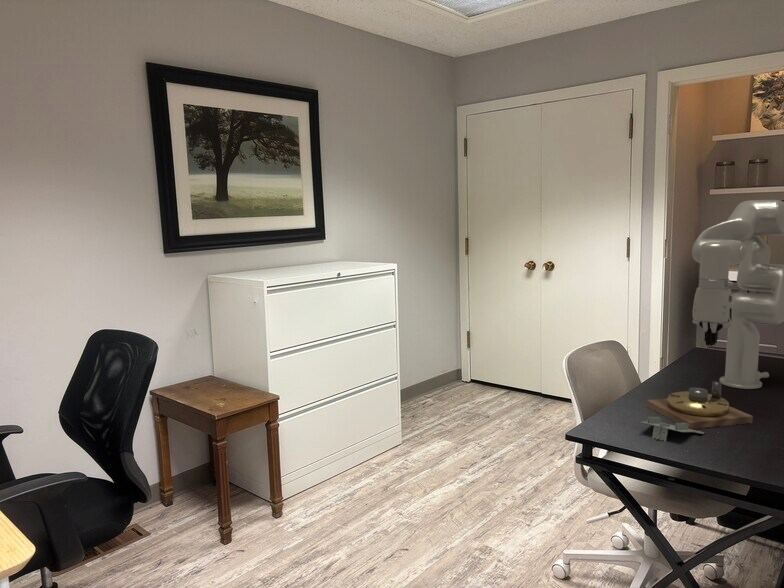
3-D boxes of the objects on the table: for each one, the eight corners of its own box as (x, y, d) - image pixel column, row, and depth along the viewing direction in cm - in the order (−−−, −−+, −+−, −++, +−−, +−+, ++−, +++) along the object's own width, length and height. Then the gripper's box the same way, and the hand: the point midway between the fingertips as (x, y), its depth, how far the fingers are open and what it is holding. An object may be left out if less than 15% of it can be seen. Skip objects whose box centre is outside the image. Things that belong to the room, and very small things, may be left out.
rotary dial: (738, 407, 176) (739, 385, 175) (712, 420, 167) (713, 397, 166) (684, 394, 189) (685, 374, 188) (657, 406, 179) (658, 384, 178)
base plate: (703, 400, 190) (703, 394, 189) (752, 422, 170) (752, 415, 170) (646, 406, 186) (646, 399, 186) (690, 429, 166) (690, 422, 166)
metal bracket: (690, 426, 154) (632, 413, 165) (686, 448, 154) (629, 434, 164) (707, 426, 165) (651, 414, 175) (704, 447, 164) (648, 434, 175)
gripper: (746, 284, 174) (742, 346, 177) (692, 280, 185) (690, 338, 188) (736, 288, 169) (732, 351, 172) (682, 283, 180) (679, 343, 183)
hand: (710, 344), depth 180 cm, fingers closed
